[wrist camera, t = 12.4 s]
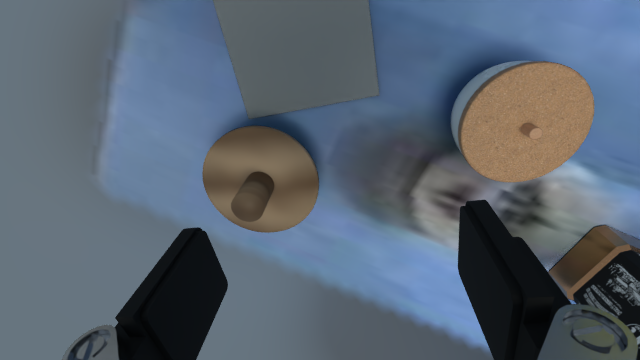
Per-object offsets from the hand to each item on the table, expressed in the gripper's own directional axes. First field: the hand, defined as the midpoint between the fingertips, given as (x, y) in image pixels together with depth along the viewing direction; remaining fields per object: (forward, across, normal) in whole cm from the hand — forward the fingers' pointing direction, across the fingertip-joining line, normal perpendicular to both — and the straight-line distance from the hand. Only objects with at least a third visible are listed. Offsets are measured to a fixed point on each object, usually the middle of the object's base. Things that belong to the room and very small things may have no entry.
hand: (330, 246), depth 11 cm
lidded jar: (+26, -15, +4) cm, 31 cm away
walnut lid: (+21, +10, +8) cm, 25 cm away
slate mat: (+26, +4, -6) cm, 27 cm away
